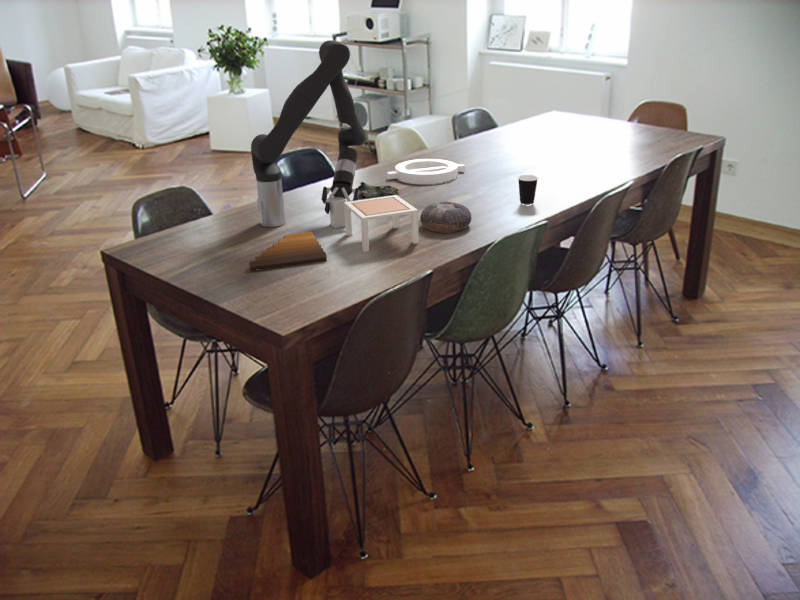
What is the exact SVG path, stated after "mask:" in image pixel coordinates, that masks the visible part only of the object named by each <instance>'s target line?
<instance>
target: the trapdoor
mask: <svg viewBox="0 0 800 600" xmlns="http://www.w3.org/2000/svg"><path fill="white" fill-rule="evenodd" d="M353 206H355V207H356V208H357V209H358V210H359V211H361V212H362V213H363V214H364V215H365V216H368V215H375V214H382V213H389V212H396V211H402V210H408V208H406V207H405V206H403V205H402V204H401V203H399V202H398V201H396V200H395V199H394V198H386V199H379V200H372V201H365V202H358V203H353Z"/></svg>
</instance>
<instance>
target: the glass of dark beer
mask: <svg viewBox="0 0 800 600" xmlns="http://www.w3.org/2000/svg"><path fill="white" fill-rule="evenodd" d="M538 179H539V177H538V176H537V175H534V174H524V175H523V174H522V175H519V176H518V177H517V180H518V192H519V193H518V194H519V203H520V205H521V204H524V205H530V204H533V205H534V203H535V197H536V192H537V191H536V190H537V186H538Z"/></svg>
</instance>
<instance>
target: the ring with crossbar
mask: <svg viewBox="0 0 800 600" xmlns="http://www.w3.org/2000/svg"><path fill="white" fill-rule="evenodd" d="M394 169H395V170H394V171H387V172H386V173H387V174H386V176H387V178H388V179H389V180H392V179H393V180H394V179H396V180H397V181H399V182H402V183H405V184H411V185H412V184H413V185H436V184H435V183H439V184H442V183H441V182H445V183H447V182H446V181H449V180H452V179H454V178H456V177H457V178H458V176H457V175H458V174H459V173H460V172H465V171H466V166H465V165H464V164H463V163H461V164H458V163H455V162H454V161H451V160H446V159H439V158H418V159H411V160H405V161H403V162H400V163H397V164H396V165H395V166H394ZM457 178H456V179H457ZM454 180H455V179H454ZM452 181H453V180H452ZM449 182H450V181H449Z"/></svg>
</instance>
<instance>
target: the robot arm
mask: <svg viewBox="0 0 800 600" xmlns="http://www.w3.org/2000/svg"><path fill="white" fill-rule="evenodd" d="M318 56H319V59H320V63H319V65H318V66H317V67H316V69H315V70H314V71H313V72H312V73H311V74H310V75H308V76H307V77H305V78H304V79H303V80H302V81H300V82H299V84H297V85H296V86H295V87H294V89H292V91H291V93H290V94H289V95H288V97H287V98H286V99H285V102H284V104H283V107H282V109H281V112H280V115H279V117H278V120H277V122H276V124H275V125H274V127H273V128H272V129H271V130H270V131H269V133H267V134H265V133H261V134H257V135H256V136H255V137H254V138H253V140H252V141H251V144H250V152H251V153H250V154H251V160H252V169H253V172H254V174H255V180H256V188H257V198H256V200H257V203H256V204H257V211H258V221H259V224H260V226H261V227H262V226H263V227H262V228H277V227H280V226H283V225H285V224H286V214H285V213H286V212H285V203H284V192H283V191H284V190H283V182H282V172H281V169H280V167H279V164H278V159H279V158H280V156H282V154H283V152H284V150H285V149H286V147H287V145H288V143H289V141H290V140H291V138H292V137H293V135H294V134H295V133H296V131H297V130H298V128H299V127H300V126H301V125H302V123H303V122H304V120H305V119H306V117H307V116H308V115H309V113H310V112H311V111H312V109H313V108H314V107H315V105H316V104H317V103H318V101H319V100H320V99H321V97H322V95H324V93H325V91H326V90H327V89H328V87H329V86H330V90H331V93H332V97H333V101H334V104H335V105H334V106H335V110H336V114H337V115H336V116H337V119H338V121H339V123H341V124H344V125H348V126H349V127H344V128H341V129H340V130H339V131H338V133H337V141H338V157H337V162H336V166H335V170H334V174H333V180H332V185H331V186H330V187H327V186H323V187H322V193H321V201H322V203H323V204H324V205H325V206H324V212H325V213H326V215H330V206H329V198H336V197H343V198H344V199H345V200H346V202H350V201H357V200H359V197H360V195H361V194H360V191H359V189H358V187H356V188H353V186H354V180H355V176H356V168H357V166H356V165H357V160H358V152H357V150H356V149H354V148H352V147H359V146H363V145H364V144H365V142H366V139H367V137H366V132H365V130H364V128H363V126H362V123H361V122H360V119H359V118H358V115H357V112H356V107H355V102H354V98H353V96H352V93H351V91H350V89H349V86H348V85H347V81H346V79H345V76H344V73H343V69H344V68H346V66H347V64H348V63H349V61H350V58H351V57H350V56H351V50H350V48H349V46H348V45H347V44H345V43H343V42H340V41H336V40H330V39H329V40H325V41H324V42H323V43H321V44H320V47H319V49H318ZM330 192H331V193H330ZM329 193H330V194H329ZM351 194H353V197H352V200H351V199H350V197H349V196H350V195H351Z"/></svg>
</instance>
